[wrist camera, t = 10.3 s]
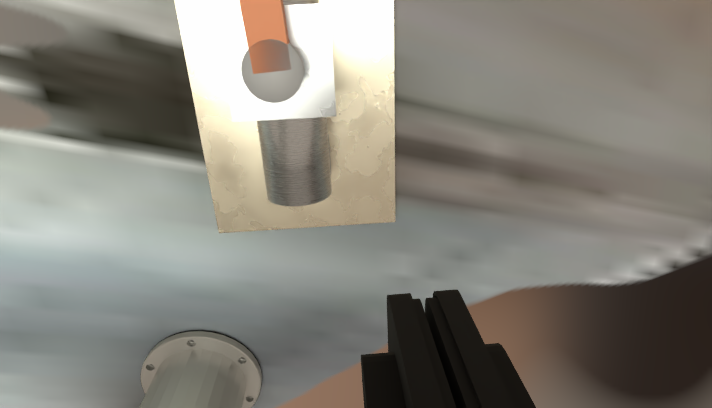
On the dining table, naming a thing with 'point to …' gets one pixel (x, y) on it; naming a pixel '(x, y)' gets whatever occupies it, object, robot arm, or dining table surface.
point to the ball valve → (297, 116)
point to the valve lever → (269, 52)
